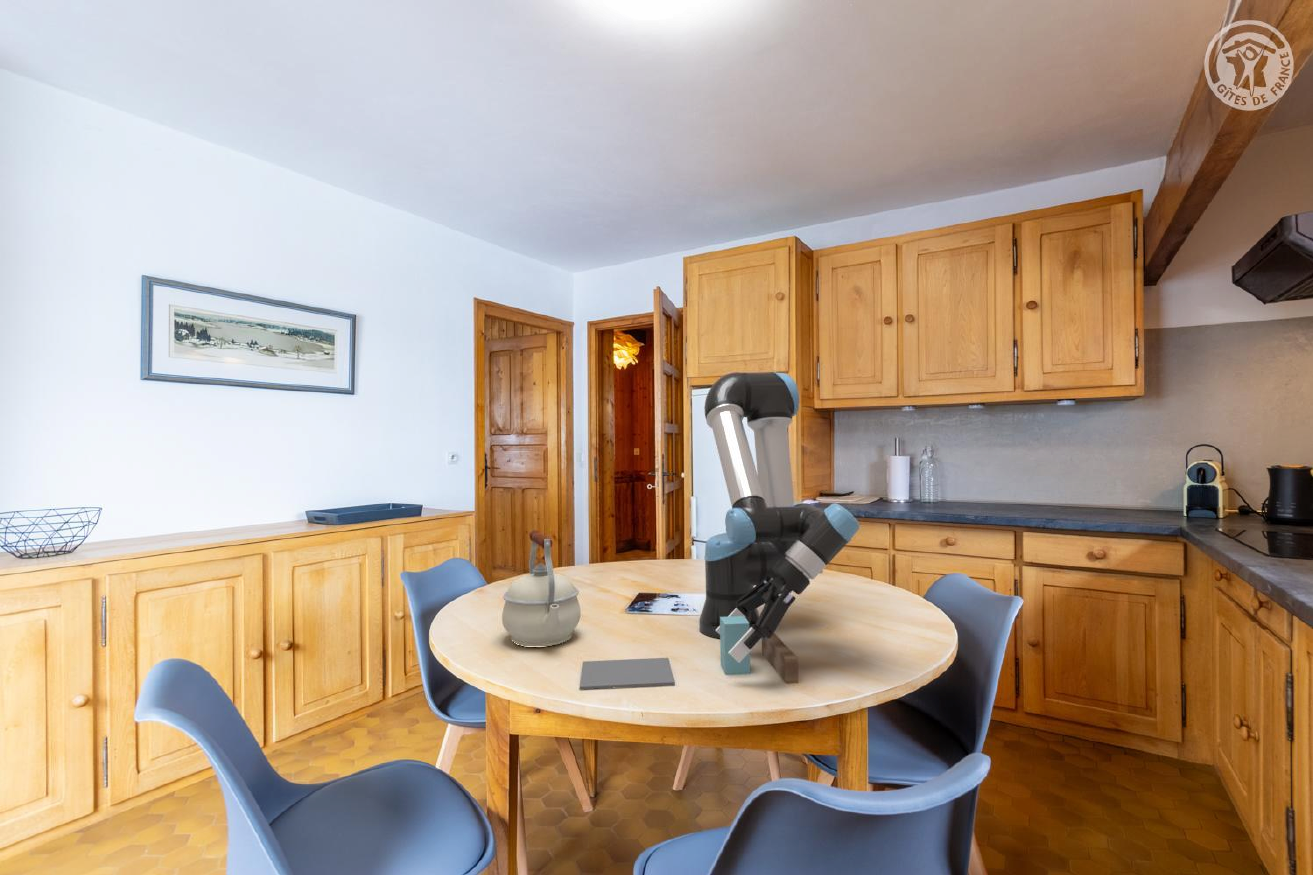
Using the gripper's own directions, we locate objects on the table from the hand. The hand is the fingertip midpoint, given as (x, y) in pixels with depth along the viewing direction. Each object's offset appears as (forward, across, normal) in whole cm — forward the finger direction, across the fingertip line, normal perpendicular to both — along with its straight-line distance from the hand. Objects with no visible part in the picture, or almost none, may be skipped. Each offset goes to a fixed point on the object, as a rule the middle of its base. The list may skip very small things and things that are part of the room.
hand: (726, 645), depth 121 cm
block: (+2, 0, -5) cm, 5 cm away
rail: (-4, 0, -11) cm, 12 cm away
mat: (+18, 0, +11) cm, 21 cm away
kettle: (+31, +24, +24) cm, 46 cm away
